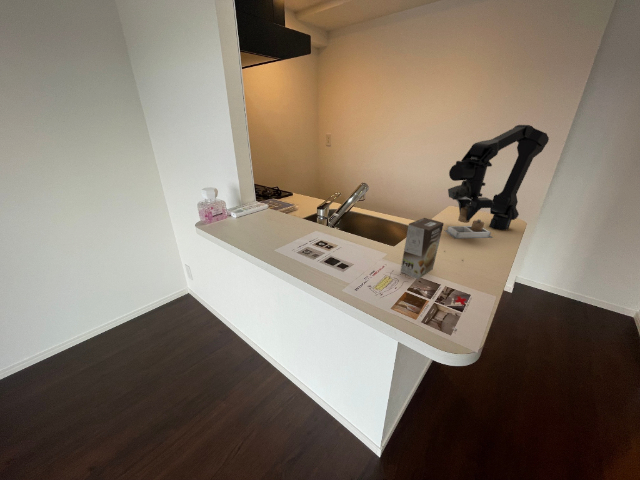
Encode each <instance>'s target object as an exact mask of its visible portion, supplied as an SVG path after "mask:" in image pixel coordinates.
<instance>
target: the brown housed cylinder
mask: <svg viewBox="0 0 640 480" xmlns="http://www.w3.org/2000/svg"><path fill="white" fill-rule="evenodd" d="M471 226H472V227H471V230H472V231H474V232H482V230H483V228H484V226H485V222H484V221H482V220H481V219H477V220H473V221H472V223H471Z"/></svg>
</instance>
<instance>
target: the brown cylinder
mask: <svg viewBox="0 0 640 480" xmlns="http://www.w3.org/2000/svg"><path fill="white" fill-rule="evenodd" d="M467 211H468V207H467V206H466V207H462V208H461V211H459V215H458V222H461V223H465V224H467V223H470V221H471V219H470V220H466V217H467Z"/></svg>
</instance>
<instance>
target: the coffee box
mask: <svg viewBox="0 0 640 480" xmlns="http://www.w3.org/2000/svg"><path fill="white" fill-rule="evenodd" d="M443 227H444V222H442V221H440V220H435V219H431V218H430V219H429V218H426V217H423V218H420V219H418V220H415V221H412V222H409V223H408V227H407V232H406V237H405V244H404V248H403V249H404V250H403V254H402V260H401V265H400V266H401V267H400V272H401V273H403V274H405V275H407V276H409V277H412V278H414V279H416V280H419V279H421V278H422V277H424V276H425V275H427V274H429V273H430V272H431V271H432V270H434V265H435V262H436V257H437V253H438V249H439V245H440V240H441V237H442V231H443Z"/></svg>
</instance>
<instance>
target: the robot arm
mask: <svg viewBox="0 0 640 480" xmlns="http://www.w3.org/2000/svg"><path fill="white" fill-rule="evenodd" d="M549 139H550V138H549V136H548V134H547V132H544V131H542V130H539V129H537V128H534V127H533V125H531V124H530V125H529V124H518V125H515V126H514V127H513V128H511V129H509V130H507V131H505V132H503V133H501V134H499V135H497V136H495V137H494V138H491V139H487V140H481V141H478V142H474V143H473V144H472V145H471V147H470V149H469V150H468V151H467V153H466V154H465V155H464V156H463V158H462V159H461V160H456V162H455V164H453V165H452V166H451V167H450V169H449V170H448V172H449V173H448V176H449V178H450V179H451V180H452V181H454V182H458V181H459V182H460V181H461V184H460V185H455V186H452V187H450V188H448V189H447V194H448V198H449V199H450V198H451V199H452V200H453V201H454V200H455V201H456V202H457V203H458V209H459V211H458V212H460V211H461V208H462V207H466V206H467V207H468V211H467V217H466V220H470V221H471V219H472V218H473V217H474V216H475V215H476V214H477V213H478V212H479V211H480V210H481V209H490V212H489V213H490V215H492V218H491V220H490V223H489V228H491V229H493V230H499V231H506V230H509V228H510V226H511V222H512V221H516V219H518V217H519V211H518V210H517V205H518V196H517V194H518V192H519V189H520V188H521V185H522V183H523V181H524V179H525V177H526V175H527V173H528V171H529V168H530V167H531V164H532V163H533V160H534V158H536V157H537V156H538V155H539V154H540V153H542V152H543V150H544V148H545V147H546V145H547V144H548V143H549ZM516 142H517V146H516V151H517V154H518V156H517V158H516V160H515V162H514V165H513V166H512V169H511V171H510V174H509V176H508V177H507V180H506V182H505V184H504V186H503V189H502V190H501V192H499V193H498V194H494V195H493V198H492V199H490V198H488V197H485V196H484V197H483V193H481V191H482V187H484V186H486V182H484V180H485V176H486V174H487V170H488V167H490V168H491V167H492V166H493V164H492V162H490V161H491V160H492V159H494V158H495V157H496V156H498V154H499V151H501V150H503V149H504V148H507V147H508V146H510V145H512V144H514V143H516Z"/></svg>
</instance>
